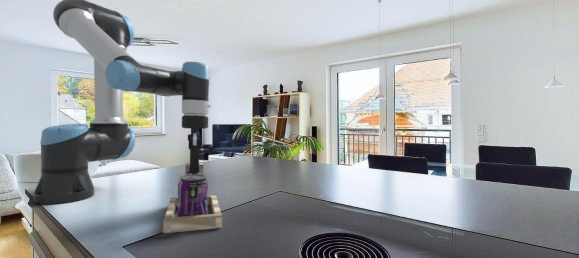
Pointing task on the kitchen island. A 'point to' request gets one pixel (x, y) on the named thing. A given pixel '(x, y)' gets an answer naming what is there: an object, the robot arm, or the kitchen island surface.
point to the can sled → (195, 221)
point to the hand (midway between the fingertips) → (194, 193)
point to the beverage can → (192, 195)
